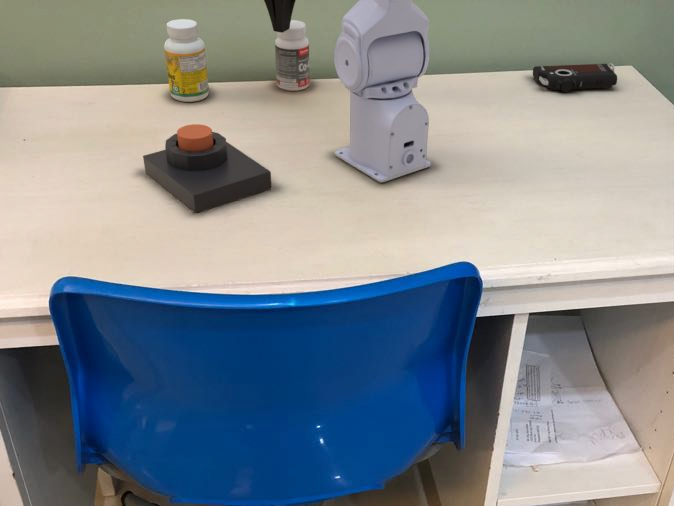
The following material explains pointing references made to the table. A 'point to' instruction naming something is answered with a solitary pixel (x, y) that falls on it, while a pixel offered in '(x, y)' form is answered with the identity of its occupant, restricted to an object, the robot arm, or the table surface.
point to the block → (207, 173)
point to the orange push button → (195, 137)
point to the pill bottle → (292, 57)
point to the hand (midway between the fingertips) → (281, 29)
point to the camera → (576, 76)
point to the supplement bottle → (186, 61)
